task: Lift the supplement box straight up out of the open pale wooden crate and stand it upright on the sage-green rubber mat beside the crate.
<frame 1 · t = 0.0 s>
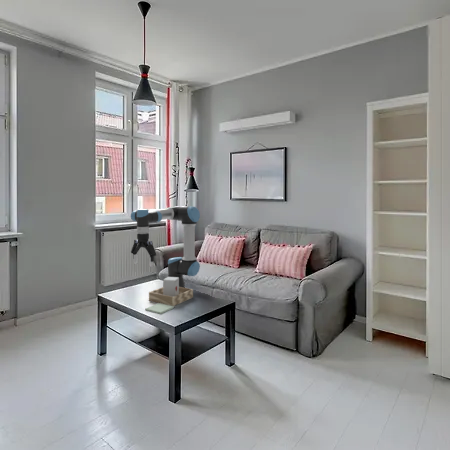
hand: (143, 265, 226), 28 cm above the table, tool pointing down, fingers open, 13 cm apart
supplement box: (171, 299, 245), resting in crate
mat: (159, 309, 225), on the table
crate: (171, 298, 245), on the table
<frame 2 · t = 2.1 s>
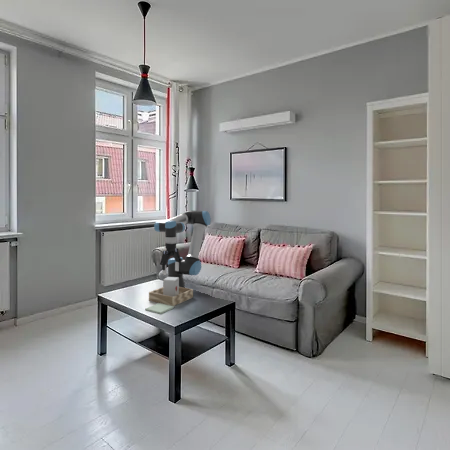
hand: (170, 272, 243), 19 cm above the table, tool pointing down, fingers open, 13 cm apart
nothing on the table moved.
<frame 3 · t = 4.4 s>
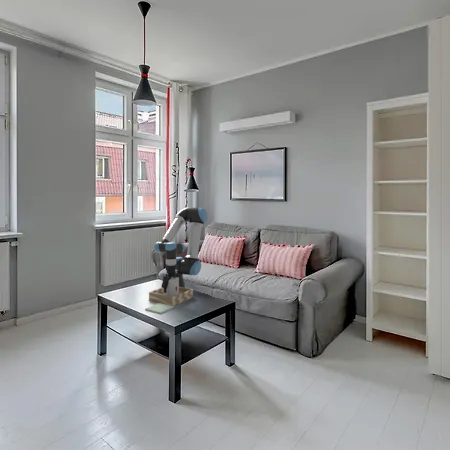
hand: (171, 295, 245), 3 cm above the table, tool pointing down, fingers closed on supplement box, 10 cm apart
supplement box: (171, 299, 245), resting in crate, touching gripper
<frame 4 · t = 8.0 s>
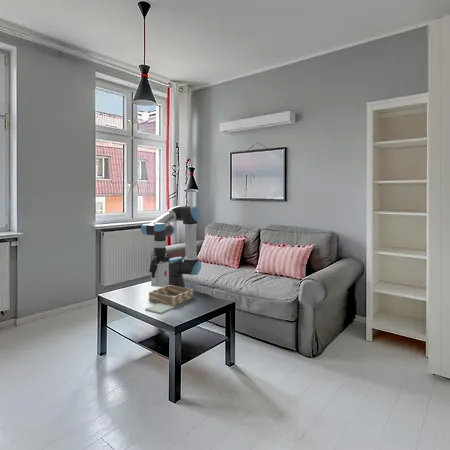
hand: (160, 280, 224), 18 cm above the table, tool pointing down, fingers closed on supplement box, 10 cm apart
supplement box: (160, 285, 224), point 15 cm above the table, touching gripper
when the fingers open (5 cm above the table, at t = 11.6 s): supplement box stays where it is, resting on mat.
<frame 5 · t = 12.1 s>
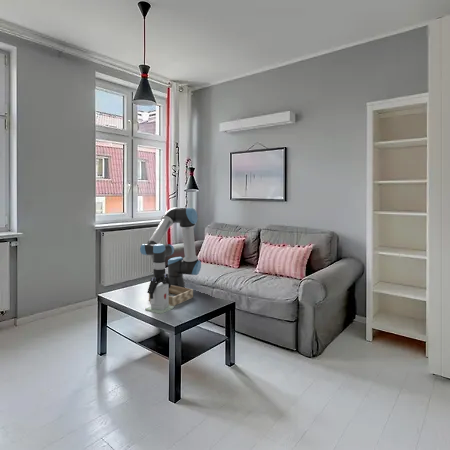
hand: (159, 300, 224), 6 cm above the table, tool pointing down, fingers open, 13 cm apart
supplement box: (160, 307, 225), point 1 cm above the table, touching mat
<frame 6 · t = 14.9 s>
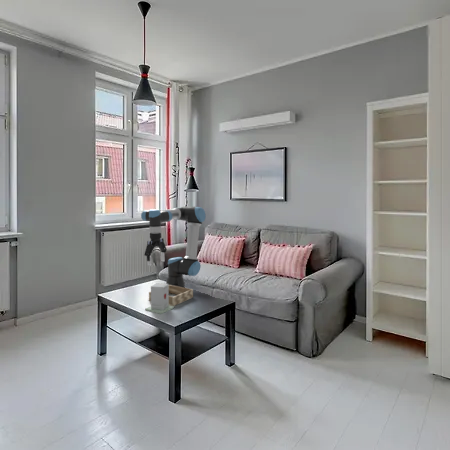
hand: (156, 263, 233), 28 cm above the table, tool pointing down, fingers open, 13 cm apart
nothing on the table moved.
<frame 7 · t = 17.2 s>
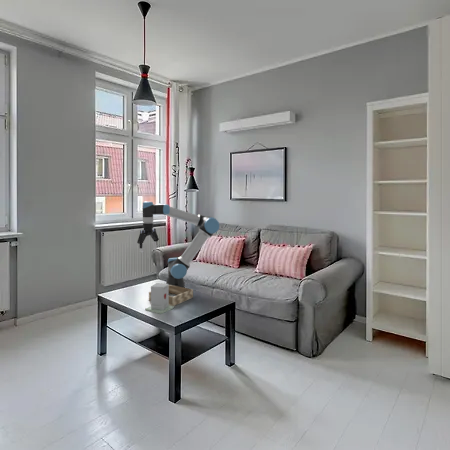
hand: (148, 251, 255), 32 cm above the table, tool pointing down, fingers open, 13 cm apart
nothing on the table moved.
at the end: supplement box inside the target area on the mat (0.2 cm from its centre), point 0.8 cm above the mat's base; supplement box tilted 0°; the gripper is holding nothing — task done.
